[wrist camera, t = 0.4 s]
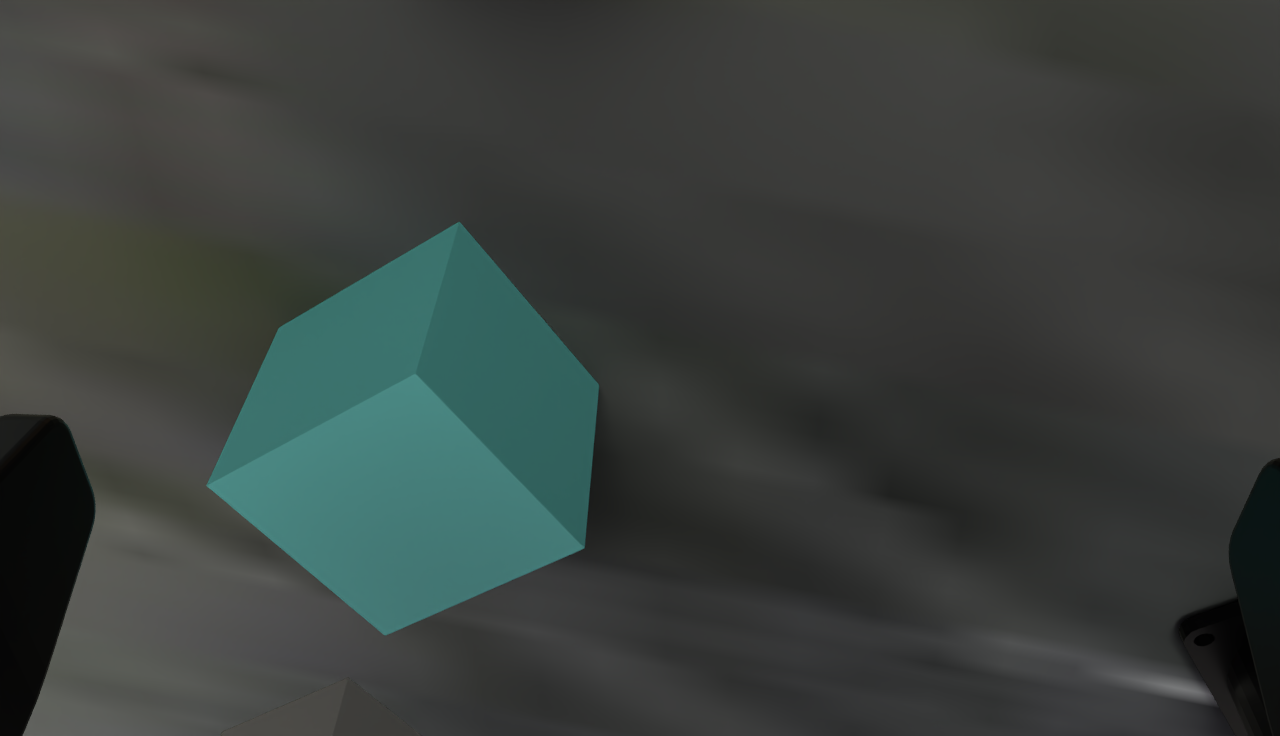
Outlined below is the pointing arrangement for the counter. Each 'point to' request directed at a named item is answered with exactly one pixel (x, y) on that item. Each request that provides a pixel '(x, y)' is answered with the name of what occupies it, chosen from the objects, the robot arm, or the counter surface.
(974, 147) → the counter surface
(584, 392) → the teal cube
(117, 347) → the counter surface
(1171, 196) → the counter surface
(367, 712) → the charcoal cube
